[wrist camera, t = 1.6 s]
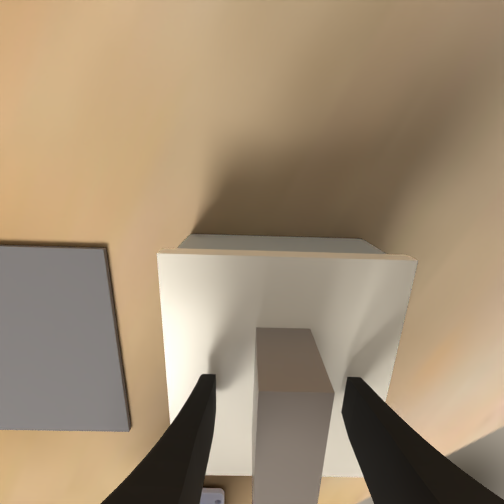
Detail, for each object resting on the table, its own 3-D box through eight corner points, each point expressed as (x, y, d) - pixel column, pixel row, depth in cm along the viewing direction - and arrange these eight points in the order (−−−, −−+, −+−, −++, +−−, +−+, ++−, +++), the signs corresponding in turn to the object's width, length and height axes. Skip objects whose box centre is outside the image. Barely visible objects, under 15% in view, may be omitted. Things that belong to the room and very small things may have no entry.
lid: (357, 451, 16) (403, 570, 11) (180, 448, 16) (150, 568, 11) (399, 250, 12) (495, 301, 7) (167, 244, 12) (113, 291, 7)
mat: (130, 427, 19) (129, 431, 19) (-33, 425, 19) (-38, 429, 19) (105, 247, 15) (103, 249, 15) (-103, 242, 15) (-110, 243, 15)
